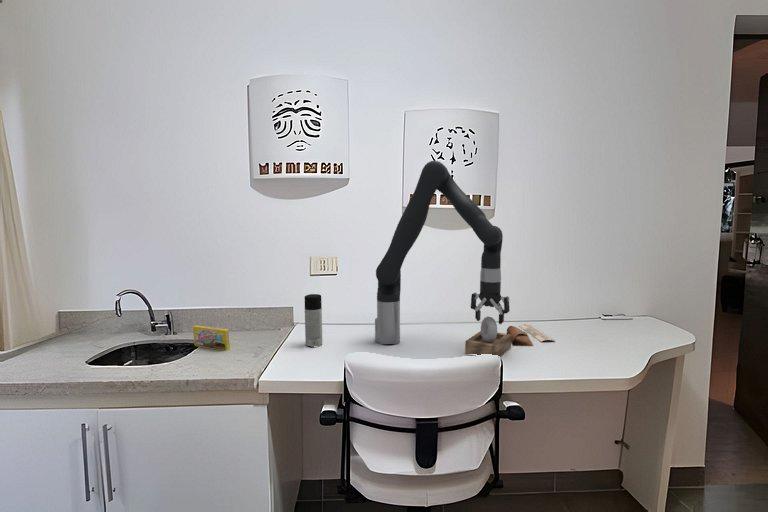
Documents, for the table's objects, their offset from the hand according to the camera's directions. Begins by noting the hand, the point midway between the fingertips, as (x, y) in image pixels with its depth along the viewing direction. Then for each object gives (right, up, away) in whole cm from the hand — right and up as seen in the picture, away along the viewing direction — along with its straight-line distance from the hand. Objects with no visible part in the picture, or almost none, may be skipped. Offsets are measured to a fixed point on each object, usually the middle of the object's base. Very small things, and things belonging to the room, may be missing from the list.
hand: (489, 322), depth 169 cm
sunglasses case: (+16, -10, +15) cm, 24 cm away
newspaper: (+25, -9, +23) cm, 35 cm away
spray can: (-68, -11, +9) cm, 69 cm away
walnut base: (0, -11, +1) cm, 11 cm away
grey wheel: (0, -8, +1) cm, 8 cm away
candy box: (-107, -11, +6) cm, 108 cm away
